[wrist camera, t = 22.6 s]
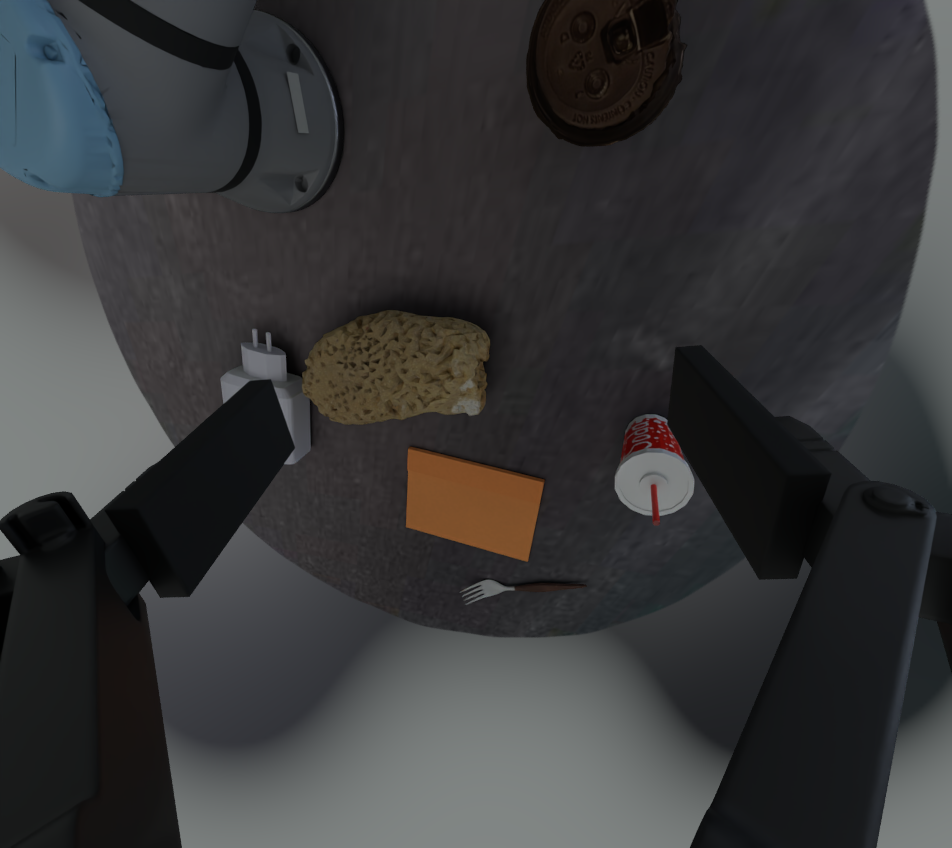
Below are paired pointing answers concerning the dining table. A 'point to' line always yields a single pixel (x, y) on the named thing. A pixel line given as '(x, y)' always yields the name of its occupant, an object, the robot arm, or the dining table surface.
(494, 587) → the fork
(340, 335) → the sponge
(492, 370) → the dining table surface
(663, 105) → the coffee cup
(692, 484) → the beverage cup
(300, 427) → the charger
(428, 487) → the cloth
